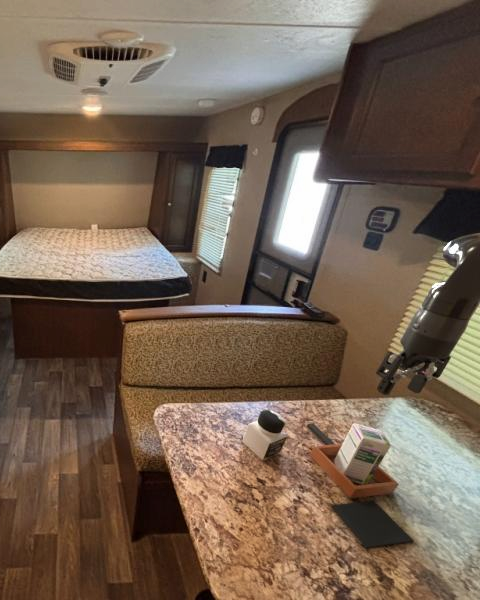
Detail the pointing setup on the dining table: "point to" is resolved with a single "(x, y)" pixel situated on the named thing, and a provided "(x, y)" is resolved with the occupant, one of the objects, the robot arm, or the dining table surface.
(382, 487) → the pan
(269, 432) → the medicine bottle
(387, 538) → the mat
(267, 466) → the dining table surface
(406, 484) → the dining table surface
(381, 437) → the syrup box
